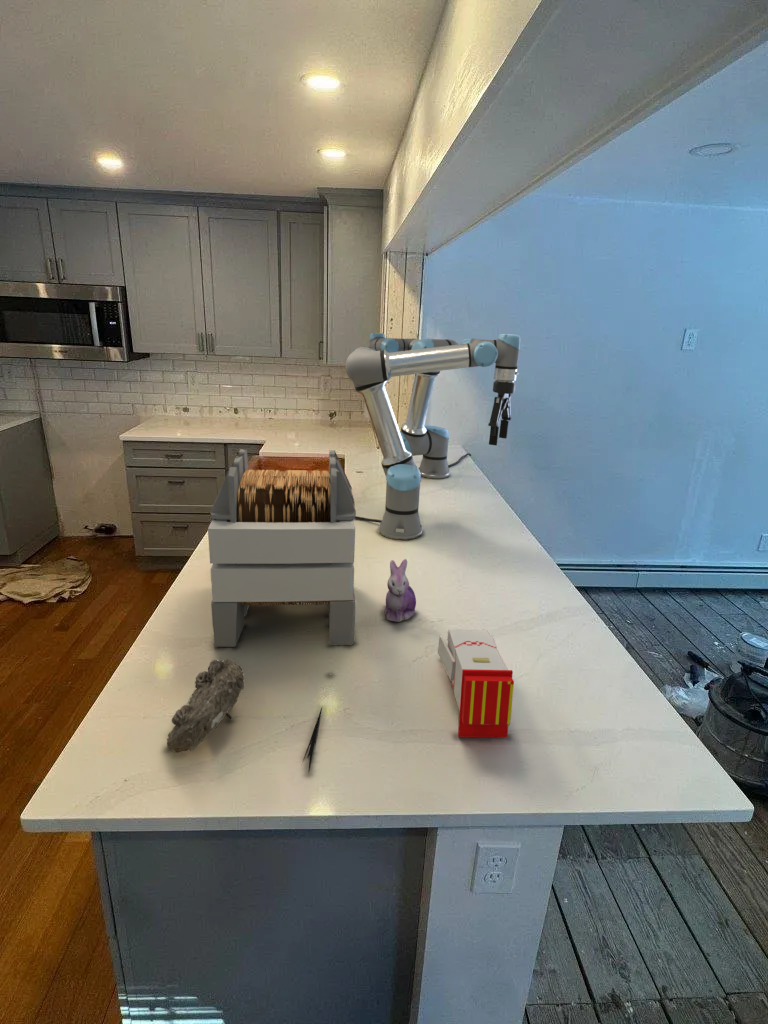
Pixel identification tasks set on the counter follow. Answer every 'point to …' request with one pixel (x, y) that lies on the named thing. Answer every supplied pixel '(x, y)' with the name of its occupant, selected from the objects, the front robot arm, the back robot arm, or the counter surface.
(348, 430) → the counter surface
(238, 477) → the transformer
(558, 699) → the counter surface
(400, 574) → the figurine
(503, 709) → the toy
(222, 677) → the fossil
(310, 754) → the feather
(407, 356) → the front robot arm
